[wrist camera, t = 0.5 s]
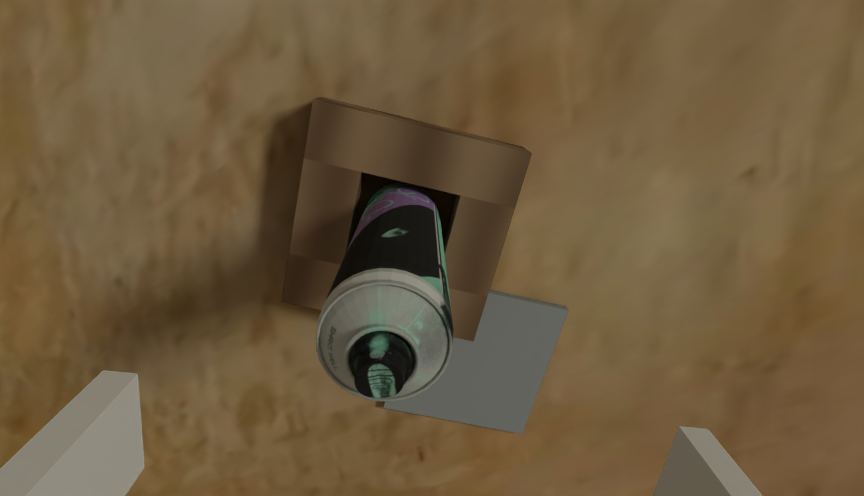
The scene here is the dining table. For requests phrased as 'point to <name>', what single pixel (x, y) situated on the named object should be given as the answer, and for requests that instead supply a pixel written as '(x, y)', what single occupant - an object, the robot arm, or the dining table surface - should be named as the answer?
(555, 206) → the dining table surface
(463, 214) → the eye block
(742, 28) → the dining table surface
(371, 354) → the spray can
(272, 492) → the dining table surface
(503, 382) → the slate tile
